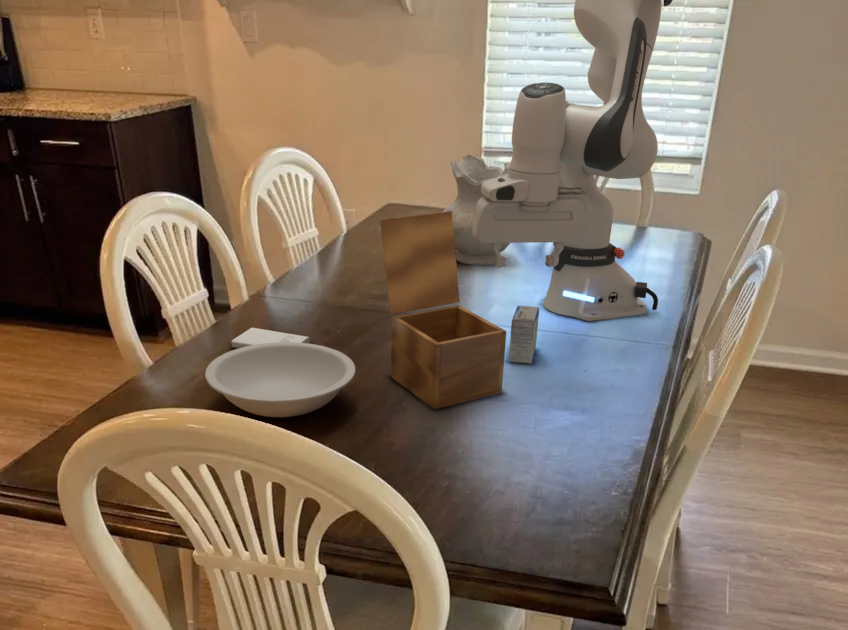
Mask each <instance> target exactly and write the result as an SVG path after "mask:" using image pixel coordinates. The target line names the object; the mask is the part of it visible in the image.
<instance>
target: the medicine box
mask: <svg viewBox="0 0 848 630" xmlns="http://www.w3.org/2000/svg"><path fill="white" fill-rule="evenodd" d="M539 316H540V307H538V306H533V305H517V306H516V308H515V311H514V313H513V316H512V318H511V325H510V337H509V338H510V339H509V351H508V352H509V354H508V355H509V356H508V361H509V362H510V363H517V364H518V363H519V364H529V365H532V363H533V361H534V356H535V353H536V349H537V338H538V327H539Z"/></svg>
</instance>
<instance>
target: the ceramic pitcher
mask: <svg viewBox="0 0 848 630" xmlns="http://www.w3.org/2000/svg"><path fill="white" fill-rule="evenodd" d="M450 165H451V170H452V175H453V177H454V179H455V182H456V187H457V196H456V198H455V200H454V201H453V202H452V203H450V204H449V205H448V206H447V207H446V208H445V209H443V210H442V212H448V211H452V219H453V231H454V242H455V252H456V253H455V254H456V262H460V263H461V264H463V265H478V266H490V265H493V264H494V265H495V264H496V256H495V254H494V252H493V249H492V247H491V243H479V242H478V241H477V240H476V239H475V238H474V236H473V234H472V226H473V219H474V213H475V208H476V205H477V202H478V201H479V199H480V198H481V197H483V196H484V195H483V194H482V192H481V185H482V183H483V182H485V181H487V180H491V179H494V178H497V177H500V176H503V175H505V174H508V173H509V166H510V163H509V162H506V163H503V165H504V169H503V168H502V167H499V166H493V165H492V166H491V165H490V166H488V165H487V163H486V162H485V160H484V158H483V157H482V158H480V157H478V156H476V155H474V154H466V156H462V159H461V160H460V161H459V162H458V163H457V161H456V160H455V159H451V162H450ZM510 244H511V243H502V246H501V249H498V250H499V252H500V253H502V252H503V251H505V250H506V249H507V248H508V247H509V245H510Z"/></svg>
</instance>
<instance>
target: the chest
mask: <svg viewBox="0 0 848 630" xmlns="http://www.w3.org/2000/svg"><path fill="white" fill-rule="evenodd" d="M390 333H391V338H390V340H391V348H390V349H391V350H390V354H391V355H390V359H391V360H390V368H391V369H390V372H391V373H390V374H391V375H390V377H391V379H392V380H394V381H395V382H397V383H398V384H399V385H400V386H402V387H403V388H405V389H406V390H408V391H409V392H410V393H412V394H413V396H415V397H417V398H418V399H419V400H421V401H422V402H424V403H425V404H426V405H428V406H429V407H430V408H432V409H433V410H437V409H441V408H445V407H450V406H455V405H457V404H462V403H466V402H469V401H475V400H479V399H483V398H487V397H492V396H496V395H500V394H502V392H503V380H504V379H503V378H504V369H505V368H504V367H505V357H506V356H505V355H506V342H507V330H505V329H503V328H502V327H500V326H498V325H496V324H494V323H493V322H491V321H489V320H487V319H486V318H483V317H482V316H480V315H478V314H476V313H474V312H472V311H470V310H469V309H467V308H465V307H463V306H461V304H456V305H450V306H444V307H438V308H433V309H428V310H427V309H426V310H421V311H416V312H412V313H410V312H409V313H405V314H399V315H393V316H391V332H390Z"/></svg>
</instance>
